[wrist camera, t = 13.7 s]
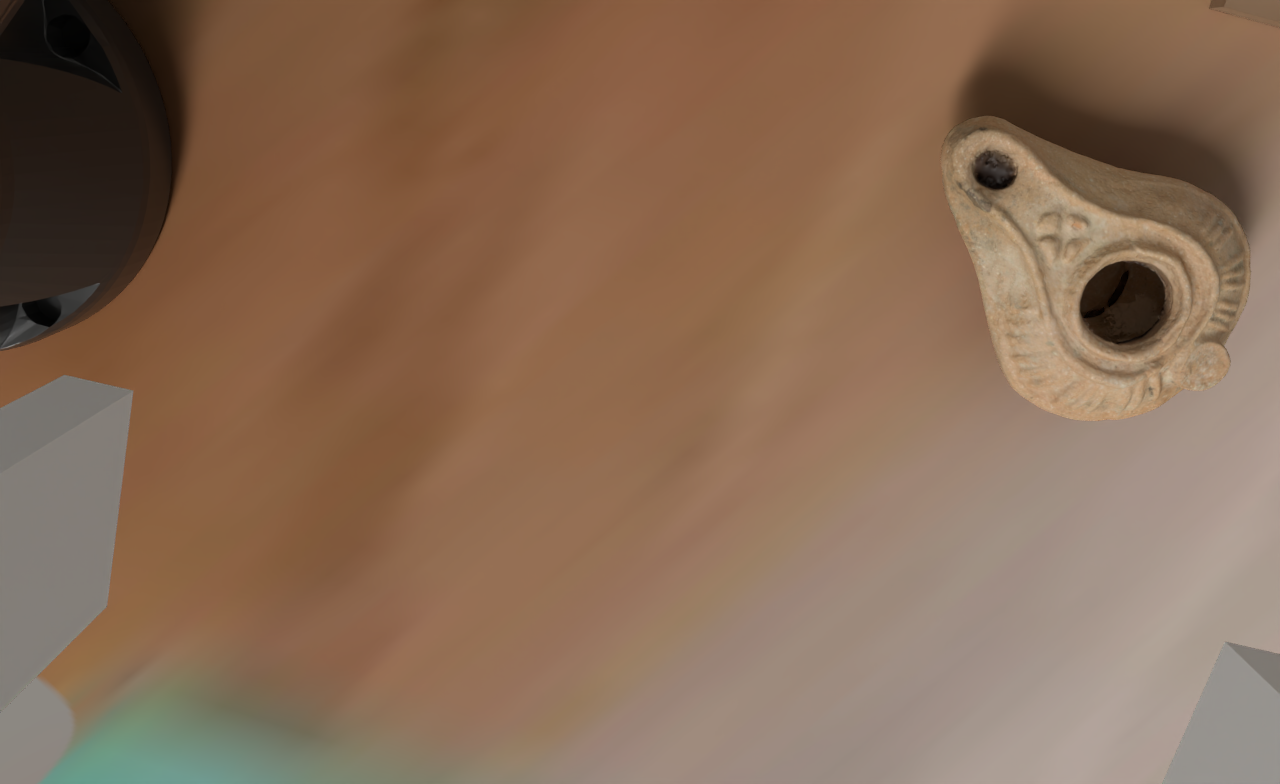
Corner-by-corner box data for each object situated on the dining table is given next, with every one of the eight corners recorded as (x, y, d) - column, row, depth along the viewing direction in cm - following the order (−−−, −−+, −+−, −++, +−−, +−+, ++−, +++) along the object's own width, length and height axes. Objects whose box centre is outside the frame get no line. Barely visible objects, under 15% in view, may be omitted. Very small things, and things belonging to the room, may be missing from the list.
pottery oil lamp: (1017, 33, 38) (1203, 31, 32) (1131, 268, 44) (1303, 303, 38) (858, 211, 37) (1021, 243, 31) (999, 427, 43) (1157, 488, 37)
